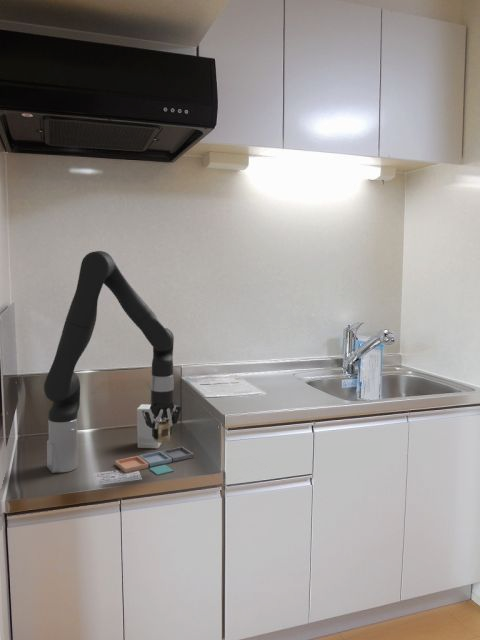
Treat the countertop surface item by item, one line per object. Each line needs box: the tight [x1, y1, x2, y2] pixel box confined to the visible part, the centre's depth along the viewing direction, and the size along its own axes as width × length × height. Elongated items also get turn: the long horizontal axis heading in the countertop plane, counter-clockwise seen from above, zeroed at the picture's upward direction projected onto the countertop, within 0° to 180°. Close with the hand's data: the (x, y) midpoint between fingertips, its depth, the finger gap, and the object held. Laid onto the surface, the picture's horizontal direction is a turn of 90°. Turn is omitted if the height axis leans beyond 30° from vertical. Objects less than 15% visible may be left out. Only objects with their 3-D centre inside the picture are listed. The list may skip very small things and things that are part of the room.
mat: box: [148, 464, 174, 476], centre depth 177 cm, size 6×6×1 cm
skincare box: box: [136, 403, 162, 449], centre depth 200 cm, size 8×7×16 cm
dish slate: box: [138, 450, 173, 468], centre depth 185 cm, size 8×8×2 cm
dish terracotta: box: [114, 455, 149, 474], centre depth 180 cm, size 8×8×2 cm
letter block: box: [154, 419, 171, 444], centre depth 176 cm, size 4×4×6 cm
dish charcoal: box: [161, 446, 195, 463], centre depth 191 cm, size 8×8×2 cm
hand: (161, 437), depth 176 cm, fingers closed on letter block, 4 cm apart
